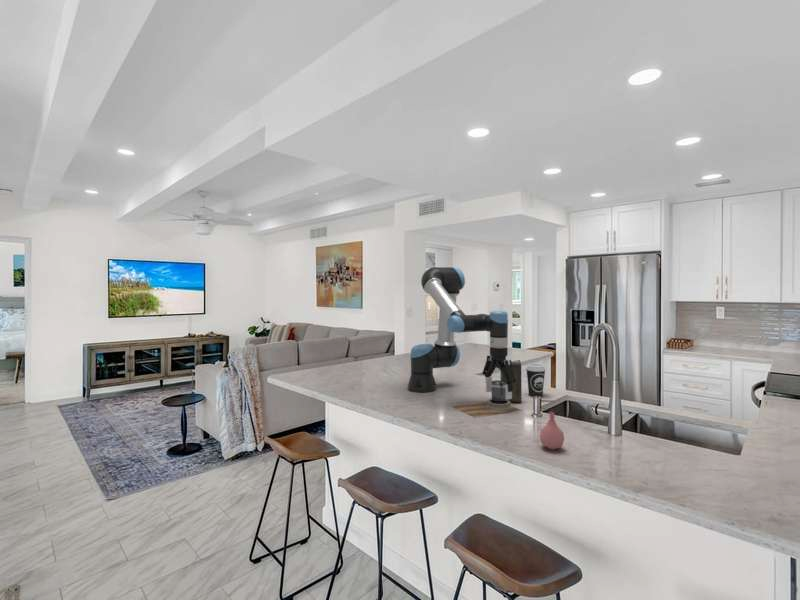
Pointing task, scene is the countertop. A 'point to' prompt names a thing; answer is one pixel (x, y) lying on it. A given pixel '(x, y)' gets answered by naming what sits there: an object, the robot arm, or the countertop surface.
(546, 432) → the perfume bottle
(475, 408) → the mount board
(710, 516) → the countertop surface
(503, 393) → the lens
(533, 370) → the coffee cup
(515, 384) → the vintage camera
